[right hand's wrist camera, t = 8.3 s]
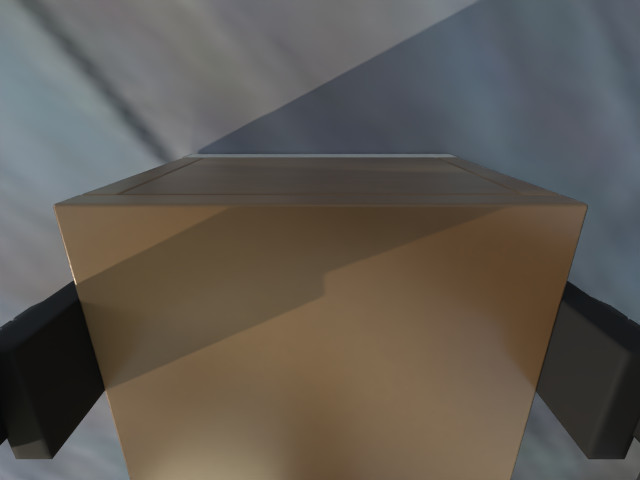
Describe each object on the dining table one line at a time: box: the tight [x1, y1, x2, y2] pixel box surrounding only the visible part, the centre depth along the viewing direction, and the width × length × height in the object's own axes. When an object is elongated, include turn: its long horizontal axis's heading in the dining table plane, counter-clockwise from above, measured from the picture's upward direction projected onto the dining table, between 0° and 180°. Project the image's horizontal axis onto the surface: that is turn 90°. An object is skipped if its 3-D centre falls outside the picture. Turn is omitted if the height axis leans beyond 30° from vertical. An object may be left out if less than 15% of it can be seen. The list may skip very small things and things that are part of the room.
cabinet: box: [53, 154, 588, 480], centre depth 15 cm, size 20×11×8 cm, turn 0°
